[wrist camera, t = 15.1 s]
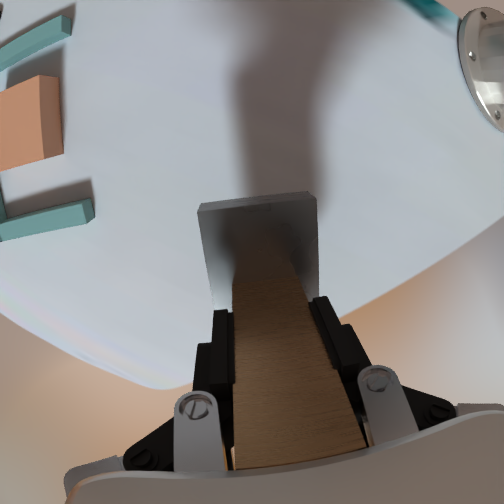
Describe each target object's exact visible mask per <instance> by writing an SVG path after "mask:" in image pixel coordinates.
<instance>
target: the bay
mask: <svg viewBox="0 0 504 504" xmlns="http://www.w3.org/2000/svg"><path fill="white" fill-rule="evenodd" d="M68 36H71V19H69V18H67V17H65V16H63V15H60V16H58V17H56V18H54V19H52V20H50V21H48V22H46V23H44V24H42V25H40V26H38V27H36V28H34V29H32V30H31V31H29V32H27V33H25V34H23V35H22V36H20V37H18V38H17V39H15V40H13V41H12V42H10V43H8V44H7V45H5V46H4V47H2V48H1V49H0V72H1V71H3V70H4V69H6V68H7V67H9V66H11V65H13V64H14V63H16V62H18V61H20V60H21V59H23V58H25V57H27V56H29V55H31V54H32V53H34V52H36V51H38V50H40V49H42V48H44V47H46V46H48V45H50V44H53V43H55V42H57V41H59V40H61V39H64V38H66V37H68ZM93 218H95V215H94V211H93V207H92V203H91V198H89V199H84V200H80V201H76V202H71V203H67V204H63V205H59V206H54V207H50V208H46V209H43V210H39V211H35V212H31V213H27V214H24V215H20V216H16V217H13V218H9V219H7V216H6V212H5V208H4V204H3V200H2V196H1V192H0V242H2V241H6V240H11V239H15V238H20V237H24V236H29V235H33V234H38V233H43V232H48V231H52V230H57V229H62V228H67V227H73V226H78V225H83V224H87V223H88V222H90V221H91V220H92V219H93Z"/></svg>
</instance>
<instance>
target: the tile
mask: <svg viewBox="0 0 504 504" xmlns="http://www.w3.org/2000/svg"><path fill="white" fill-rule="evenodd" d="M61 154H64V152H63V142H62V132H61V118H60V99H59V78H57V77H51V76H44V75H38V76H35V77H33V78H30V79H28V80H26V81H24V82H21V83H19V84H17V85H15V86H12V87H10V88H8V89H6V90H4V91H2V92H0V172H1V171H4V170H7V169H11V168H14V167H17V166H21V165H24V164H28V163H32V162H35V161H39V160H43V159H46V158H50V157H54V156H57V155H61Z"/></svg>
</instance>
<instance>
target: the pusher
mask: <svg viewBox="0 0 504 504" xmlns="http://www.w3.org/2000/svg"><path fill="white" fill-rule="evenodd" d="M197 214H198V220H199V226H200V232H201V238H202V244H203V250H204V256H205V262H206V267H207V273H208V278H209V284H210V289H211V294H212V299H213V305H214V310H220V309H228V312H233V313H234V353H235V384H233V414H234V449H235V470H246V469H257V468H267V467H275V466H283V465H290V464H296V463H302V462H308V461H313V460H319V459H324V458H328V457H333V456H338V455H342V454H346V453H350V452H354V451H358V450H362V449H366V447H367V446H366V444H365V441H364V438H363V436H362V433H361V430H360V428H359V425H358V422H357V420H356V417H355V415H354V412H353V409H352V407H351V404H350V402H349V399H348V397H347V394H346V392H345V389H344V387H343V384H342V381H341V379H340V376H339V374H338V371H337V369H334V367H333V365H332V362H331V360H330V357H329V355H328V352H327V350H326V347H325V345H324V342H323V340H322V337H321V335H320V332H319V330H318V327H317V325H316V322H315V320H314V318H313V315H312V313H311V310H310V308H309V305H308V302H312V300H313V298H315V297H319V256H318V222H317V200H316V198H315V197H314V196H313V195H312V194H310V193H309V192H308V191H306V192H295V193H285V194H275V195H266V196H257V197H248V198H239V199H231V200H223V201H215V202H208V203H201V205H200V207H199V209H198V211H197Z"/></svg>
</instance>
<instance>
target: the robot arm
mask: <svg viewBox="0 0 504 504" xmlns="http://www.w3.org/2000/svg"><path fill="white" fill-rule="evenodd" d="M459 52H460V60H461V64H462V68H463V73H464V76H465V78H466V82H467V85H468V87H469V89H470V92H471V94H472V96H473V99H474V100H475V102H476V104H477V106H478V107H479V109H480V111H481V112H482V113H483V115H484V116H485V118H486V119H487V120H488V121H489V122H490V123H491V124H492V125H493V126H494V127H495V128H497V129H498V130H499V131H501V132H503V133H504V14H502V13H501V12H499V11H497V10H494V9H492V8H487V7H482V8H478V9H474V10H472V11H470V12H468V13H467V14H466V16H465V17H464V18H463V20H462V23H461V25H460V31H459ZM308 305H309V308H310V310H311V313H312V315H313V318H314V320H315V322H316V325H317V327H318V330H319V332H320V335H321V337H322V340H323V342H324V345H325V347H326V350H327V352H328V355H329V357H330V360H331V362H332V365H333V367H334V369H337V371H338V374H339V376H340V379H341V381H342V384H343V387H344V389H345V392H346V394H347V397H348V399H349V402H350V404H351V407H352V409H353V412H354V415H355V417H356V420H357V422H358V425H359V428H360V430H361V433H362V436H363V438H364V441H365V444H366V446H367V447H366V449H362V450H358V451H354V452H350V453H346V454H342V455H338V456H333V457H328V458H324V459H319V460H313V461H308V462H302V463H296V464H290V465H283V466H275V467H267V468H257V469H246V470H235V464H234V458H233V451H232V447H233V446H234V414H233V384H235V353H234V313H233V312H228V309H220V310H214V314H213V328H212V342H210V343H199V344H198V346H197V354H196V362H195V371H194V380H193V390H192V392H188V393H186V394H184V395H183V396H181V397H180V398H179V399H178V401H177V402H176V404H175V407H174V417H173V418H171V419H170V420H168V421H167V422H166V423H164V424H163V425H161V426H160V427H159V428H157V429H156V430H154V431H153V432H151V433H150V434H149V435H147V436H146V437H144V438H143V439H141V440H140V441H138V442H137V443H135V444H134V445H132V446H131V447H130V448H129V449H127V451H126V452H125V454H124V456H121V457H117V455H115V456H112V457H109V458H105V459H102V460H99V461H95V462H92V463H88V464H85V465H81V466H77V467H74V468H72V469H70V470H69V471H68V472H67V473H66V474H65V477H64V487H65V491H66V496H67V499H66V502H65V504H504V406H503V405H501V404H464V403H461V404H460V403H458V404H457V406H453V405H452V404H451V403H450V402H449V401H447V400H445V399H442V398H439V397H436V396H433V395H429V394H426V393H423V392H420V391H417V390H414V389H411V388H408V387H405V386H402V385H401V384H400V382H399V379H398V377H397V375H396V373H395V372H394V371H393V370H392V369H390V368H388V367H386V366H382V365H372V364H371V362H370V360H369V358H368V356H367V355H366V353H365V351H364V349H363V347H362V345H361V343H360V341H359V339H358V337H357V335H356V333H355V332H354V330H353V328H352V326H351V325H350V324H344V325H341V323H340V321H339V319H338V317H337V315H336V313H335V311H334V309H333V307H332V305H331V303H330V301H329V299H328V297H327V296H322V297H315V298H313V300H312V302H308Z"/></svg>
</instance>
